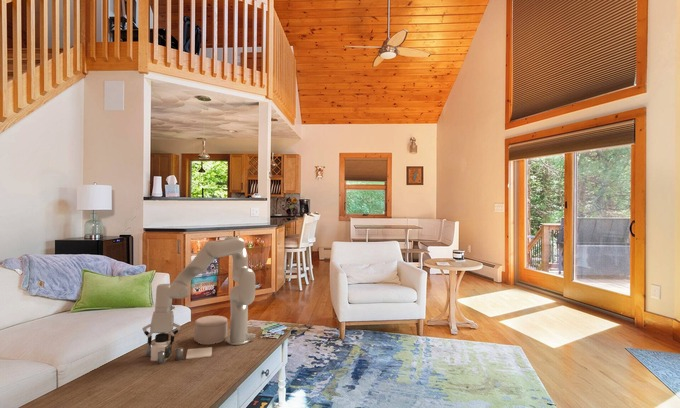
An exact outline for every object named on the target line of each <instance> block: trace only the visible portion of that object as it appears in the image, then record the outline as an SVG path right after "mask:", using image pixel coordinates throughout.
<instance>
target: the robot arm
mask: <svg viewBox="0 0 680 408" xmlns="http://www.w3.org/2000/svg"><path fill="white" fill-rule="evenodd" d="M245 242H246V241H245V240H244V239H243V238H242V237H237V236H232V235H231V236H226V237H225V238H224V239H223V240H219V241H217V240H209V241H207V242H206V243H205V244H204V245H203V246H202V247H201V249H200V250H199V251H198V253H197V254H196V256H195V257H194V258H193V259H192V260H191V262H190V263H189V264H188V265H187V266H185V267H184V268H183V269H182V270H181V271H180V272H179V274H177V276H176V277H175V279H174V280H173V281H172V282H171V284H170V283H161V284H160V283H159V284H158V285H156V289H155V290H156V291H155V303H154V311H153V313H152V316H151V320H150V323H149V324H147V325H145V326H143V327H142V331H143V333H144V335H145V336H146V337H147V344H148V345H151V344H152V341H153V340H152V338H153V334H159V333H168V334H169V335H170V340H169V342H170V344H172V345H173V343H174V342H175V336H176V335H177V334H178V332H179V331H180V329H181V328H182V326H181V325H180V324H178V323H176V322H175V319H174V311H173V310H175V309H176V307H175V306H173V299H178V300H181V299H186V298H187V297H189V296H190V294H191V287H190V286H189V283H190V282H191V281H192V280H193V279H194V278H195V277H196V276H199V275H202V274H203V273H204V272H206V271H207V269H208V268H209V266H210V265H211V264H212V263H213V261H214V260H215V259H216V258H218V259H219V258H223V257H228V256H231V257H232V259H231V260H232V272H231V273H232V274H231V275H232V279H233V281H234V282H235V283H238V284H237V285H234V286H233V287H232V288H231V289H230V291H229V302H230V316H229V317H230V318H229V319H230V323H229V325H230V326H229V337H228V338H226V343H227V344H229V345H232V346H241V345H242V346H243V345H245V344H248V343H249V342H250V341H251V338H256V333H253V332H251V333H249V331H248V324H249V323H248V320H249V318H248V317H249V306H250V305H251V304H253V302H254V301H255V299H256V298H255V297H256V273H255V272H254V270H253V269H251V268H249V255H248V252H247V249H246V243H245ZM174 328H176V329H175V330H174ZM148 329H149V330H150V331H148Z"/></svg>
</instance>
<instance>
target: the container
mask: <svg viewBox="0 0 680 408" xmlns="http://www.w3.org/2000/svg"><path fill="white" fill-rule="evenodd" d="M228 322H229V321H228V318H227V317H226V316H224V315H223V316H222V315H206V316H201V317H199V318H197V319H195V321H194V323H193V324H194V328H193V329H194V332H193V333H194V334H193V335H194V336H193V341H195V342H196V343H197V342H198V343H197V344H199V343H200V345H216V344H220V343H222V342H224V341H225V339H227V337H228ZM215 343H216V344H215Z"/></svg>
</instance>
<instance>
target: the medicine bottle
mask: <svg viewBox="0 0 680 408" xmlns="http://www.w3.org/2000/svg"><path fill="white" fill-rule="evenodd" d="M169 335H170V333H156V335H155V338H154V344H152V345H153V346H151V356H150V361H151V362H152V361H153V362H158V352H160V351H165V360H164V362H166V361H167V360H168V359H169V358H170V357H172V350H173V349H172V347H173V343H172V344H170V340H169V337H170V336H169Z"/></svg>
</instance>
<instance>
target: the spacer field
mask: <svg viewBox="0 0 680 408" xmlns="http://www.w3.org/2000/svg"><path fill="white" fill-rule="evenodd" d="M153 345H154V344H152V343H151V345H149V344H147V345H146V346H145V357H151V346H153ZM175 353H176V358H175V359H176V361H182V360H183V359H184V348H183V347H178V348H176V351H175ZM164 360H165V351H160V352H158V361H157V364H158V365H162V364H165V361H166V360H165V361H164Z"/></svg>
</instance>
